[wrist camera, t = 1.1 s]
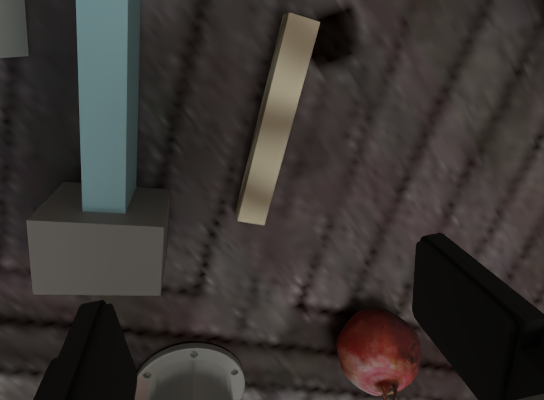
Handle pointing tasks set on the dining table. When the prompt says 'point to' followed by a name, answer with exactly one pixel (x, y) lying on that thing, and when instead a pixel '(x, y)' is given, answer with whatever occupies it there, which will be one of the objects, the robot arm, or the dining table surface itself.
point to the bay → (13, 29)
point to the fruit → (378, 352)
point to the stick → (276, 116)
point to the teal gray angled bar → (103, 175)
